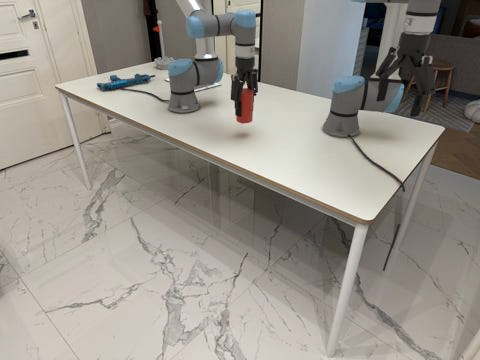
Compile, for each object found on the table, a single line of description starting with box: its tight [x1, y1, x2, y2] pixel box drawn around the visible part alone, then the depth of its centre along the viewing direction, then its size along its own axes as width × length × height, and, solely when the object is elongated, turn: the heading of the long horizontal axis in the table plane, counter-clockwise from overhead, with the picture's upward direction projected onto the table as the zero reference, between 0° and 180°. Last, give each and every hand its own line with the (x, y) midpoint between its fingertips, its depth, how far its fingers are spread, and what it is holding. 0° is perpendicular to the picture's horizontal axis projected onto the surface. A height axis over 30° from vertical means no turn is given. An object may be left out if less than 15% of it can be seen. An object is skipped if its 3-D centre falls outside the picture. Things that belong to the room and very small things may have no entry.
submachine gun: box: [96, 73, 156, 91], centre depth 208 cm, size 34×4×25 cm
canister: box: [235, 87, 254, 124], centre depth 140 cm, size 7×7×13 cm
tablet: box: [164, 77, 222, 93], centre depth 209 cm, size 32×20×1 cm, turn 41°
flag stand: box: [152, 19, 175, 70], centre depth 230 cm, size 13×13×30 cm
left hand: (244, 113), depth 141 cm, fingers closed on canister, 7 cm apart
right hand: (396, 108), depth 102 cm, fingers open, 13 cm apart
